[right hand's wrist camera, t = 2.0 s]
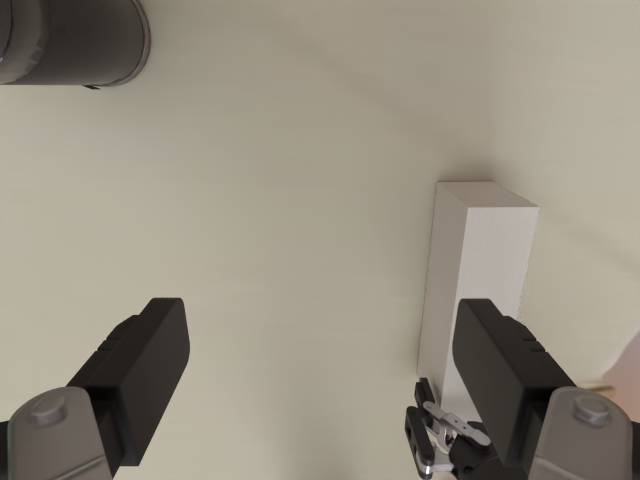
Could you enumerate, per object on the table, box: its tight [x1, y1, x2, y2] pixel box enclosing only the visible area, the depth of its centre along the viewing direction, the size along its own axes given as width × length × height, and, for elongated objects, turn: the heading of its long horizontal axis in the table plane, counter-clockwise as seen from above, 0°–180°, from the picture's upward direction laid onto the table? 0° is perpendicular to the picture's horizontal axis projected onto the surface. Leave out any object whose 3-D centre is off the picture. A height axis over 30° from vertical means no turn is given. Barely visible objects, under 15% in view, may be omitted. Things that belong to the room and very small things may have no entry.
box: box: [417, 181, 540, 433], centre depth 41 cm, size 25×6×9 cm, turn 0°
